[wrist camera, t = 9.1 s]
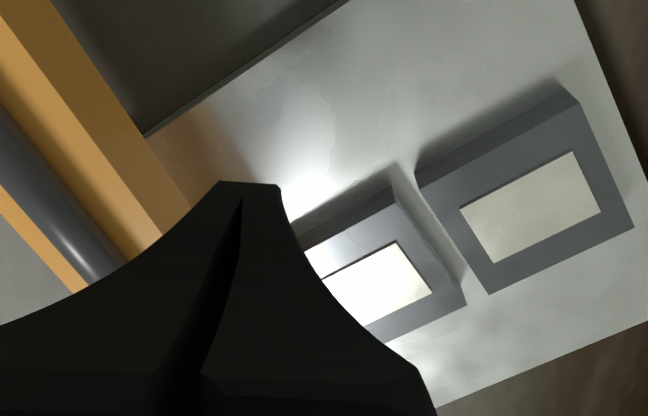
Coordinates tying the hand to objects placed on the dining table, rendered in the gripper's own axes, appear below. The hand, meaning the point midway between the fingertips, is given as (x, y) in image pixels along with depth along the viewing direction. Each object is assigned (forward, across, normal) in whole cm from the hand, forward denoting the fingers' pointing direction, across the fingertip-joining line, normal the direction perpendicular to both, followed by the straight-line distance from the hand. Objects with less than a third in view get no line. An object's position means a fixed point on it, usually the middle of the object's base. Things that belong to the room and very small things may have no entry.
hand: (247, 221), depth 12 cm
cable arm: (+5, +4, +3) cm, 7 cm away
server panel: (+8, -5, +6) cm, 11 cm away
